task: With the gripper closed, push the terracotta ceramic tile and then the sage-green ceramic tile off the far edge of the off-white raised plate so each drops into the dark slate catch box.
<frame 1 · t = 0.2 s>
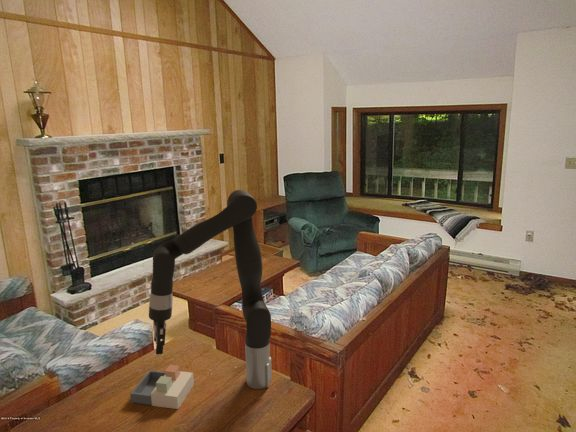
hand: (158, 347, 147), 22 cm above the table, tool pointing down, fingers open, 8 cm apart
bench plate: (173, 394, 156), on the table
tile a: (173, 376, 158), point 5 cm above the table, touching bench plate
tile b: (164, 388, 151), point 5 cm above the table, touching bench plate
catch box: (151, 391, 157), on the table
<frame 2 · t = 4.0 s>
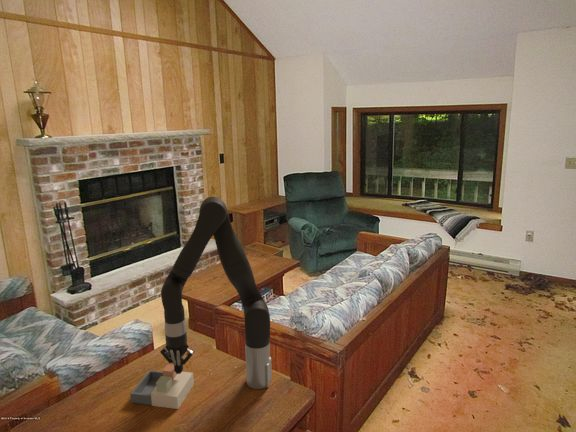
hand: (178, 372, 157), 7 cm above the table, tool pointing down, fingers closed
tile a: (170, 376, 158), point 5 cm above the table, touching gripper
everything else where it was.
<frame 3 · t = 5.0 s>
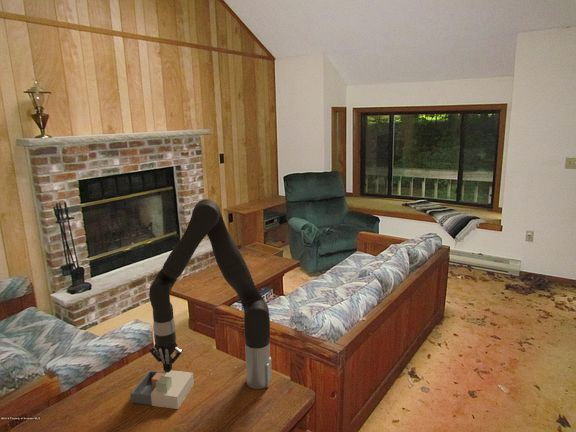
hand: (167, 371, 158), 7 cm above the table, tool pointing down, fingers closed
tile a: (163, 381, 159), point 2 cm above the table, tilted 90°, touching catch box
everything else where it was.
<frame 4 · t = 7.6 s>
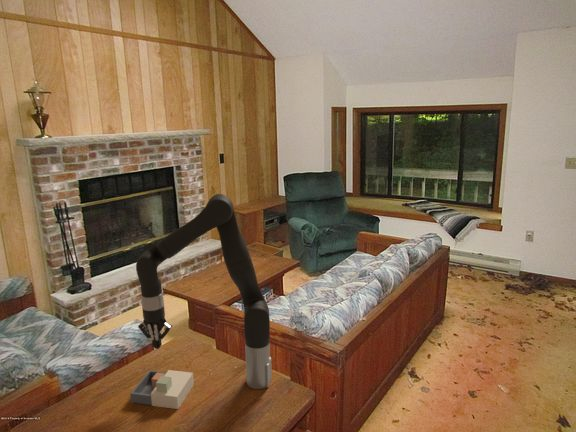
hand: (157, 347, 156), 17 cm above the table, tool pointing down, fingers closed
nothing on the table moved.
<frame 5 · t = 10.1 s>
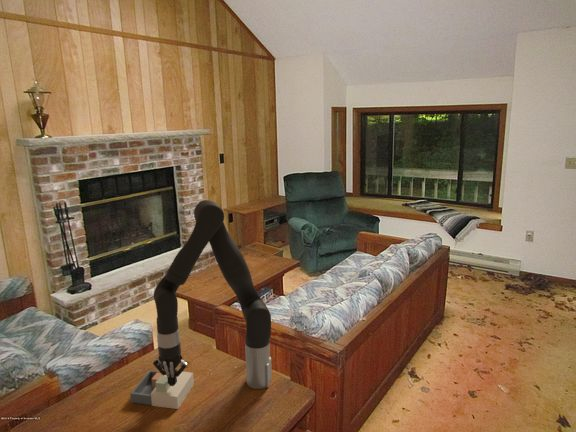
hand: (172, 384, 150), 7 cm above the table, tool pointing down, fingers closed
tile b: (163, 388, 151), point 5 cm above the table, touching gripper
everything else where it was.
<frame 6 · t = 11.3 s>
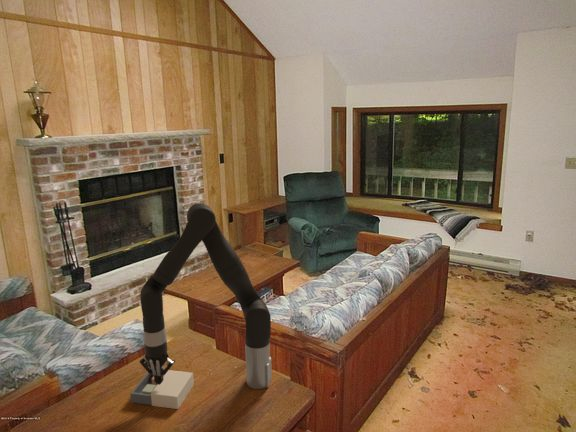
hand: (159, 382, 151), 7 cm above the table, tool pointing down, fingers closed
tile b: (154, 393, 153), point 2 cm above the table, tilted 90°, touching catch box
everything else where it was.
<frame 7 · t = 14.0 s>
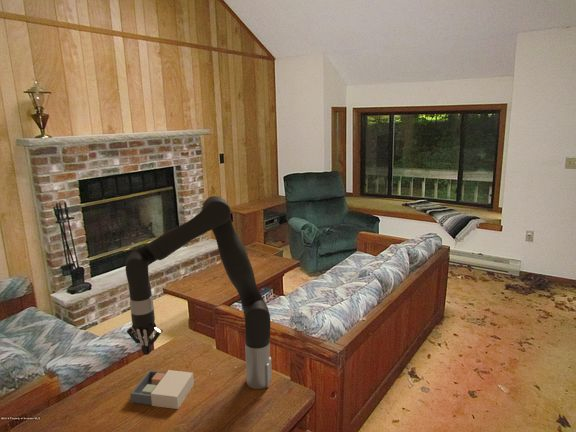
hand: (147, 353, 149), 19 cm above the table, tool pointing down, fingers closed
nothing on the table moved.
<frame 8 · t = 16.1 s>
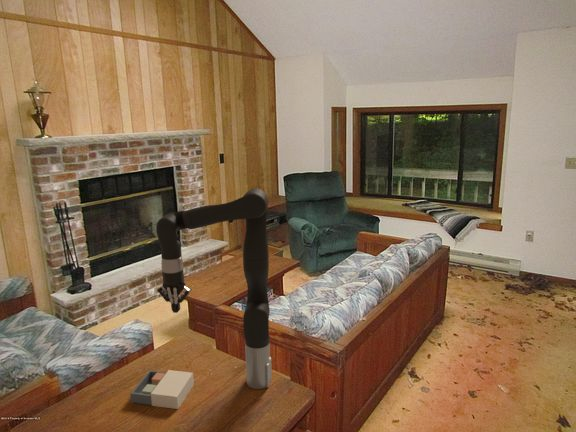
hand: (176, 311, 157), 29 cm above the table, tool pointing down, fingers closed
nothing on the table moved.
at the end: tile a inside the target area (4.8 cm from its centre), point 2.4 cm above the table; tile b inside the target area (4.7 cm from its centre), point 2.4 cm above the table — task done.
